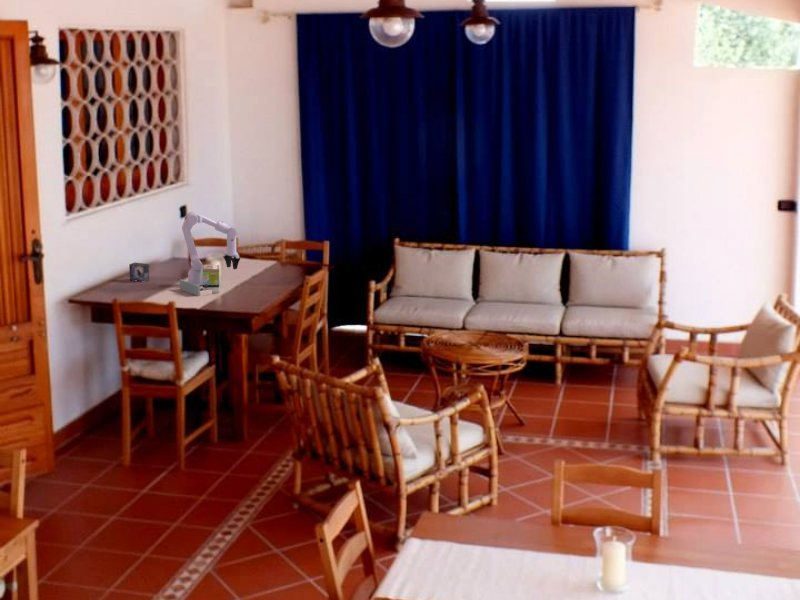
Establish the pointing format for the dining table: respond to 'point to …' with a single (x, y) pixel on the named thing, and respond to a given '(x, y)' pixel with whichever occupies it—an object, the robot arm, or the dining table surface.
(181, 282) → the display bay
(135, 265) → the small box
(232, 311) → the dining table surface
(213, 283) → the tea box
